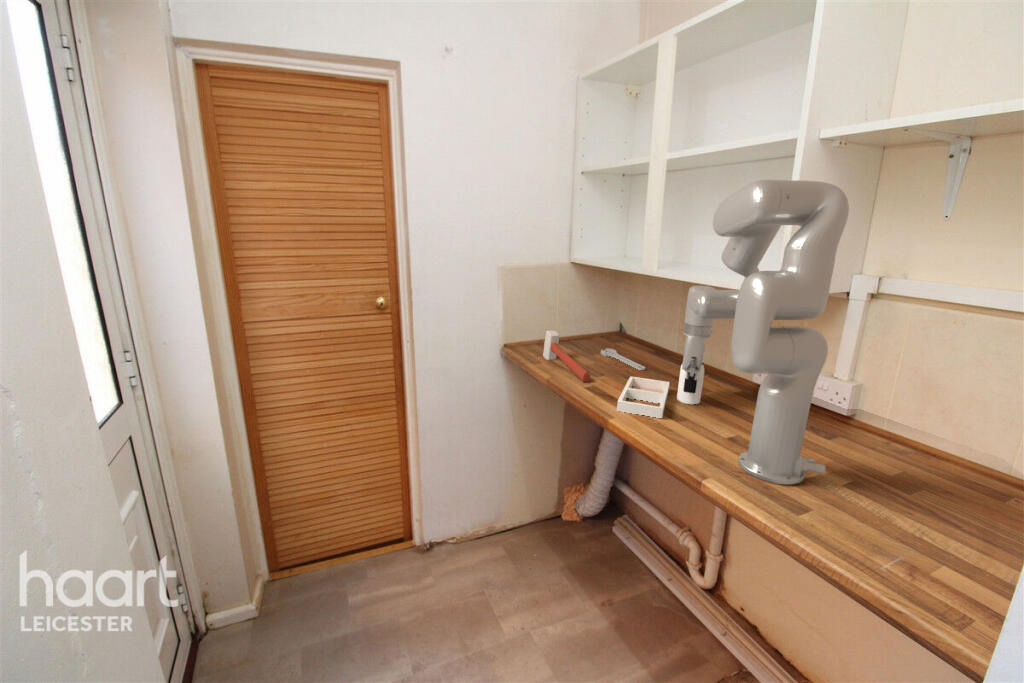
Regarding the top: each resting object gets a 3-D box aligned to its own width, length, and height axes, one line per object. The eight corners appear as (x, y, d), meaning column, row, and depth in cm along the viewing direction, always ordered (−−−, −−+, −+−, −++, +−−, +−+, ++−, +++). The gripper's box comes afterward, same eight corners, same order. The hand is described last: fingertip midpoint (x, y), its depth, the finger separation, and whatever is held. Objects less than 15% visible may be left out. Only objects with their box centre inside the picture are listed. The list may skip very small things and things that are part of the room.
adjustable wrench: (646, 372, 165) (647, 367, 164) (630, 373, 163) (631, 368, 162) (611, 352, 188) (611, 347, 187) (597, 353, 186) (597, 348, 185)
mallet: (593, 364, 149) (554, 329, 175) (583, 365, 148) (545, 330, 173) (588, 393, 153) (550, 355, 179) (579, 394, 152) (542, 355, 178)
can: (672, 397, 140) (677, 359, 137) (693, 396, 141) (698, 358, 138) (682, 405, 134) (687, 365, 131) (704, 405, 135) (709, 365, 132)
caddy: (668, 391, 145) (669, 382, 144) (661, 419, 124) (663, 408, 124) (629, 385, 149) (630, 376, 149) (616, 411, 129) (617, 401, 128)
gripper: (685, 322, 141) (678, 376, 146) (682, 335, 126) (674, 394, 130) (711, 325, 138) (703, 379, 143) (712, 338, 123) (703, 399, 127)
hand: (689, 386), depth 136 cm, fingers open, 9 cm apart
